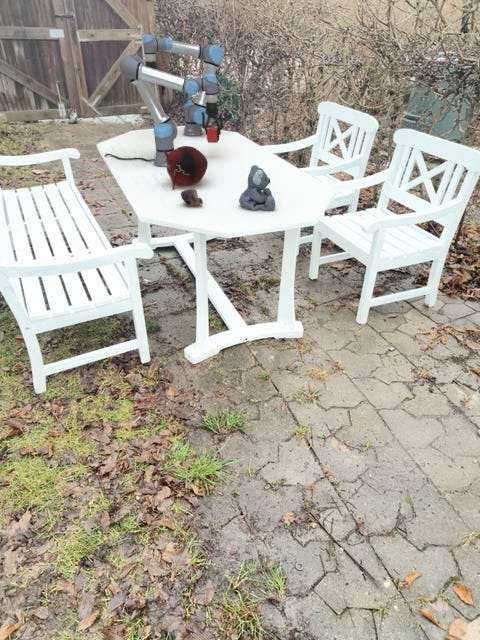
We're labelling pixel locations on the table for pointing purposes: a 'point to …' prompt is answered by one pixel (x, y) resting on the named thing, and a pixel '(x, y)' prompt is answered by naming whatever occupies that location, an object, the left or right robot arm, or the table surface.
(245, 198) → the koala plush
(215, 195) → the table surface
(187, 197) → the rock
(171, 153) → the dark red rounded piece
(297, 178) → the table surface
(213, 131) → the brick
